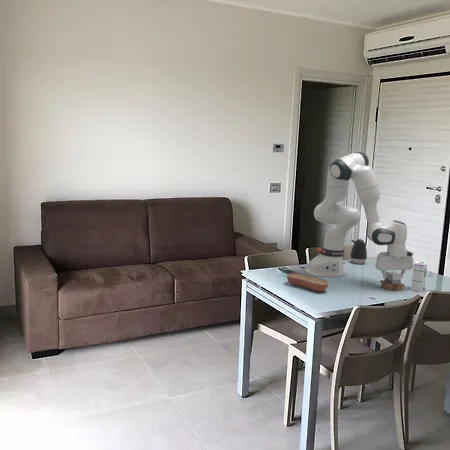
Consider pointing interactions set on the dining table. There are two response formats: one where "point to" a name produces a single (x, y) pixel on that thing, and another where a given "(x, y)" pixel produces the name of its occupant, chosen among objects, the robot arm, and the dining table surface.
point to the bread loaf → (307, 282)
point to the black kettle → (358, 252)
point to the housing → (393, 278)
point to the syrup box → (419, 276)
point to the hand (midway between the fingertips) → (392, 277)
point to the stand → (391, 286)
